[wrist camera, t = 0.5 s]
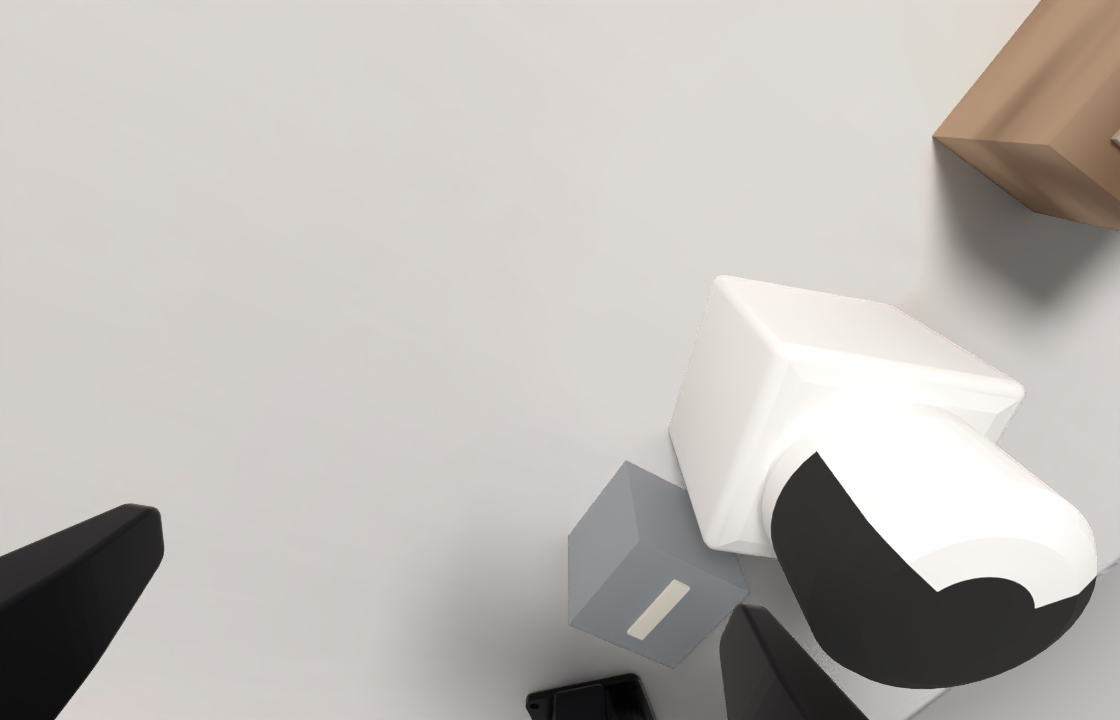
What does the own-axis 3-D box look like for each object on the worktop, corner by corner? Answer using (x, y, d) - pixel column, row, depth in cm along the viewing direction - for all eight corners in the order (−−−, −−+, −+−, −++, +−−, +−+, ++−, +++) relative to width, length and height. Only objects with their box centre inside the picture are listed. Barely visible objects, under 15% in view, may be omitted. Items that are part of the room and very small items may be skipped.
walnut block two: (1157, 76, 18) (1367, 64, 13) (1032, 211, 20) (1177, 244, 15) (1052, -17, 17) (1239, -64, 12) (930, 136, 19) (1052, 145, 14)
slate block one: (717, 505, 25) (751, 595, 21) (655, 574, 27) (674, 672, 22) (625, 459, 24) (639, 543, 20) (568, 534, 26) (568, 628, 21)
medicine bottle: (823, 455, 24) (1038, 745, 13) (665, 430, 24) (750, 709, 13) (893, 302, 21) (1243, 512, 10) (713, 270, 21) (878, 454, 10)
